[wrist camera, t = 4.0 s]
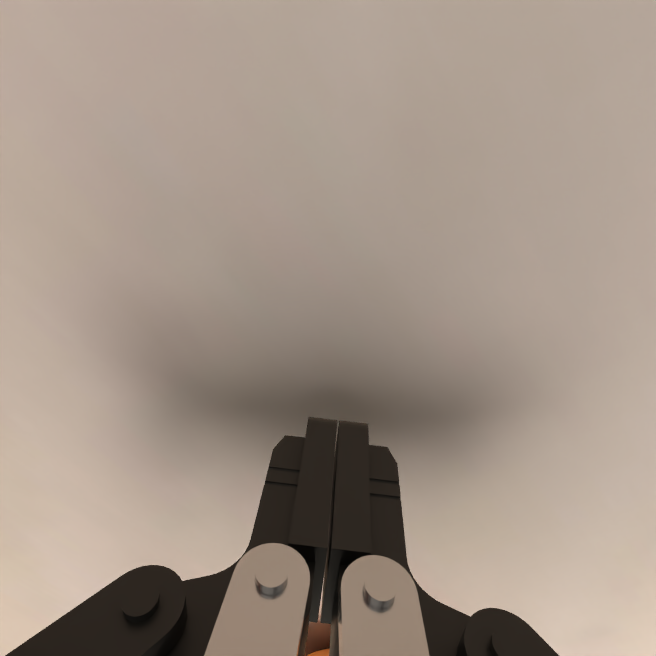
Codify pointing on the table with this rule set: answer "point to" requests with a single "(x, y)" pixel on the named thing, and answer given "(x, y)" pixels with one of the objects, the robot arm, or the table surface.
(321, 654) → the ball
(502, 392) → the table surface
